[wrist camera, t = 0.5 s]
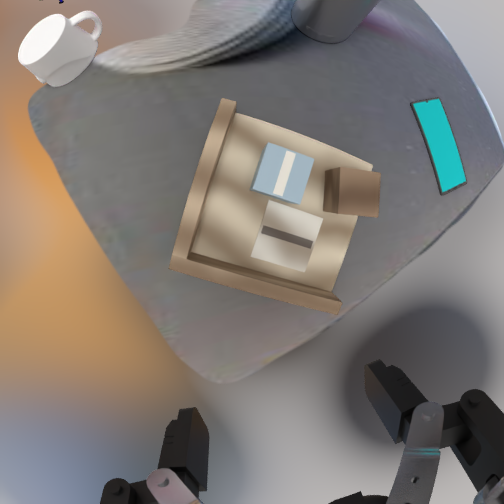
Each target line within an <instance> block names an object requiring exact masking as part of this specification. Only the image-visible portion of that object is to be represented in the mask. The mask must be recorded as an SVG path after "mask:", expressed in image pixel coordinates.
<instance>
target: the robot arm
mask: <svg viewBox="0 0 504 504" xmlns="http://www.w3.org/2000/svg"><path fill="white" fill-rule="evenodd" d="M379 2H380V0H296V1H295V3H294V6H293V9H292V12H291V16H292V20H293V22H294V24H295V25H296V27H297V28H298V29H299V30H300V31H301V32H303V33H304V34H305V35H307V36H308V37H310V38H312V39H315V40H317V41H321V42H325V43H338V42H342V41H344V40H346V39H347V38H348V37H349V36H350V35H351V33H352V32H353V31H354V30H355V29H356V28H357V26H358V25H359V24H360V23H361V22H362V21H363V20H364V18H365V17H366V16H367V15H368V14H369V13H370V12H371V11H372V9H373V8H374V7H375V6H376V5H377V4H378V3H379ZM364 374H365V375H364V377H365V392H366V395H367V397H368V399H369V401H370V402H371V404H372V406H373V408H374V409H375V411H376V412H377V414H378V416H379V417H380V419H381V421H382V422H383V424H384V426H385V427H386V429H387V430H388V432H389V434H390V436H391V437H392V439H393V441H394V442H395V444H397V443H399V442H401V441H403V442H404V444H405V449H404V452H403V456H402V459H401V463H400V466H399V469H398V472H397V475H396V478H395V481H394V484H393V487H392V490H391V492H390V495H389V497H387V496H381V495H367V496H363V495H362V493H361V491H360V492H357V493H355V494H352V495H349V496H346V497H343V498H340V499H337V500H334V501H333V502H331V503H329V504H429V501H430V498H431V494H432V490H433V487H434V483H435V478H436V474H437V470H438V465H439V460H440V451H439V449H441V448H445V447H448V446H450V447H451V449H452V451H453V452H454V454H455V455H456V457H457V459H458V460H459V461H460V463H461V465H462V467H463V468H464V470H465V471H466V473H467V475H468V477H469V478H470V480H471V481H472V483H473V485H474V487H475V488H476V490H477V492H478V494H477V495H476V496H475V498H474V501H473V504H504V413H503V412H502V411H501V410H500V409H499V408H498V407H497V406H496V404H495V403H494V402H493V401H492V400H491V399H490V398H489V397H488V396H487V395H486V393H484V392H483V391H481V390H478V389H473V390H469V391H467V392H465V393H464V394H463V395H462V397H461V399H460V401H459V402H455V403H452V404H448V405H442V406H441V405H440V404H438V403H436V402H429V401H428V400H427V399H426V398H425V397H424V396H423V394H422V393H421V392H420V391H419V390H418V389H417V387H416V386H415V385H414V384H413V383H412V382H411V381H410V379H409V378H408V377H407V376H406V375H405V373H404V372H403V371H402V370H401V369H399V368H397V367H395V366H393V365H391V366H389V367H386V366H385V364H384V363H383V362H382V361H381V360H380V359H379V360H376V361H374V362H371V363H369V364H366V365H365V366H364ZM208 454H209V432H208V429H207V426H206V425H205V423H204V421H203V419H202V417H201V415H200V413H199V412H198V410H197V408H195V407H193V408H186V409H180V410H179V414H178V419H177V420H172V421H171V422H170V424H169V425H168V426H167V428H166V432H165V438H164V441H163V445H162V450H161V455H160V459H159V464H158V469H157V470H155V471H153V472H152V473H150V475H149V476H148V478H147V480H144V481H140V482H135V483H131V484H129V483H128V482H127V481H126V480H124V479H121V478H116V479H112V480H110V481H109V482H107V483H106V485H105V486H104V489H103V493H102V497H101V501H100V504H203V502H202V501H201V500H200V499H199V491H207V474H208Z"/></svg>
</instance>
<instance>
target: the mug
mask: <svg viewBox="0 0 504 504" xmlns="http://www.w3.org/2000/svg"><path fill="white" fill-rule="evenodd" d="M85 19H92V20H94V21H95V29H94V31H93V32H92V33H91V34H89V33H88V32H86V31H85V30H83V29H82V28H81V27H79V26H78V25H76V24H78V23H79V22H81V21H83V20H85ZM101 32H102V22H101V20H100V19H99V18H98V16H97V14H96V13H94V12H92V11H83V12H80V13H79V14H77V15H75V16H73V17H72V18H70V19H68V18H66V17H64V16H63V15H61V14H53V15H50V16H48V17H46V18H44V19H43V20H41V21H40V22H39V23H37V24H36V25H35V26H34V27H33V28H32V29H31V30H30V31H29V33H28V34H27V36H26V37H25V38H24V40H23V42H22V44H21V46H20V49H19V53H18V59H19V61H20V63H21V64H22V65H24V66H25V67H26V68H27V69H28V70H29V71H31V72H32V73H33V74H34V75H35V76H36V78H37V79H38V80H39V81H40V82H41V83H43V84H44V83H45V82H47V83H48V84H49V85H50V86H53V87H59V86H62V85H65V84H67V83H69V82H70V81H72V80H73V79H75V78H76V77H77V76H79V75H80V74H81V73H82V72H83V71H84V70H85V69H86V68H87V67H88V65H89V64H90V63H91V61H92V60H93V58H94V56H95V54H96V51H97V48H98V41H97V39H98V37H99V36H100V35H101Z"/></svg>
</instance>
